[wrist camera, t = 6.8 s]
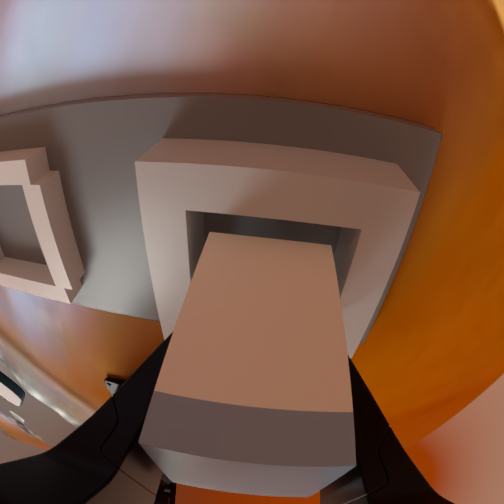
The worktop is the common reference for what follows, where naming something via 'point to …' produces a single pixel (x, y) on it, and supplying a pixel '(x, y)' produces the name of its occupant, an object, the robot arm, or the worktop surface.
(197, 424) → the plug
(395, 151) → the panel
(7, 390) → the external hard drive
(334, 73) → the worktop surface
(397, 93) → the worktop surface
